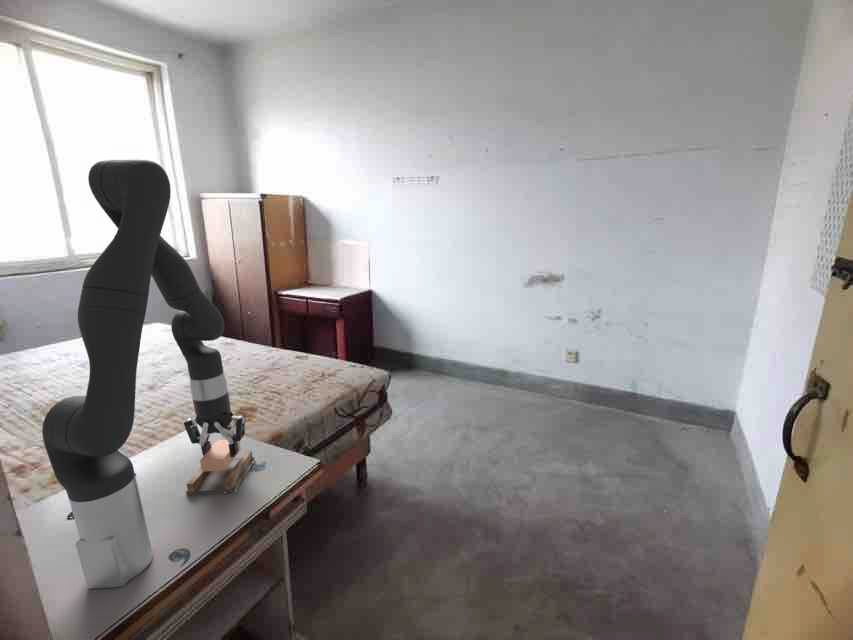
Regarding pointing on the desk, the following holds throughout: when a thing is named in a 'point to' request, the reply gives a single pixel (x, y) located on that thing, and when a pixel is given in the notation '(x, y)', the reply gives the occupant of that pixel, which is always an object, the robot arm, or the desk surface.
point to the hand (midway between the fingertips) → (221, 455)
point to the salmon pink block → (218, 457)
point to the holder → (220, 477)
